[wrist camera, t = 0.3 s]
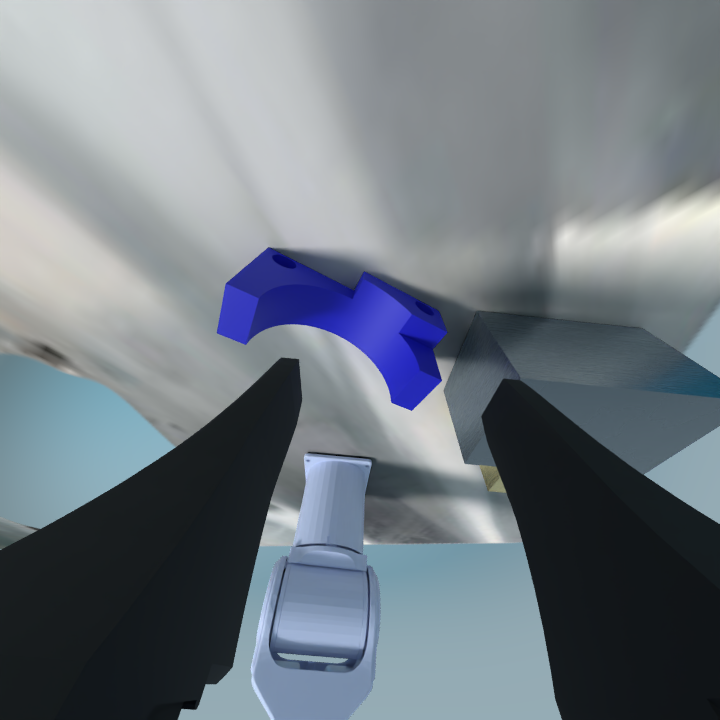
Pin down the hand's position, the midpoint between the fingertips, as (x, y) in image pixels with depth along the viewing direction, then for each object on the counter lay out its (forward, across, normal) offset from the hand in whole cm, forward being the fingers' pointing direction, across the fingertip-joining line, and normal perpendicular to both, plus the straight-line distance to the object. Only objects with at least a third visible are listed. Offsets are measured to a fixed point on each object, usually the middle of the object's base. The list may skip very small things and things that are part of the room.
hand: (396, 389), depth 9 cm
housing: (+10, -12, +5) cm, 17 cm away
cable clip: (+10, +2, +1) cm, 11 cm away
